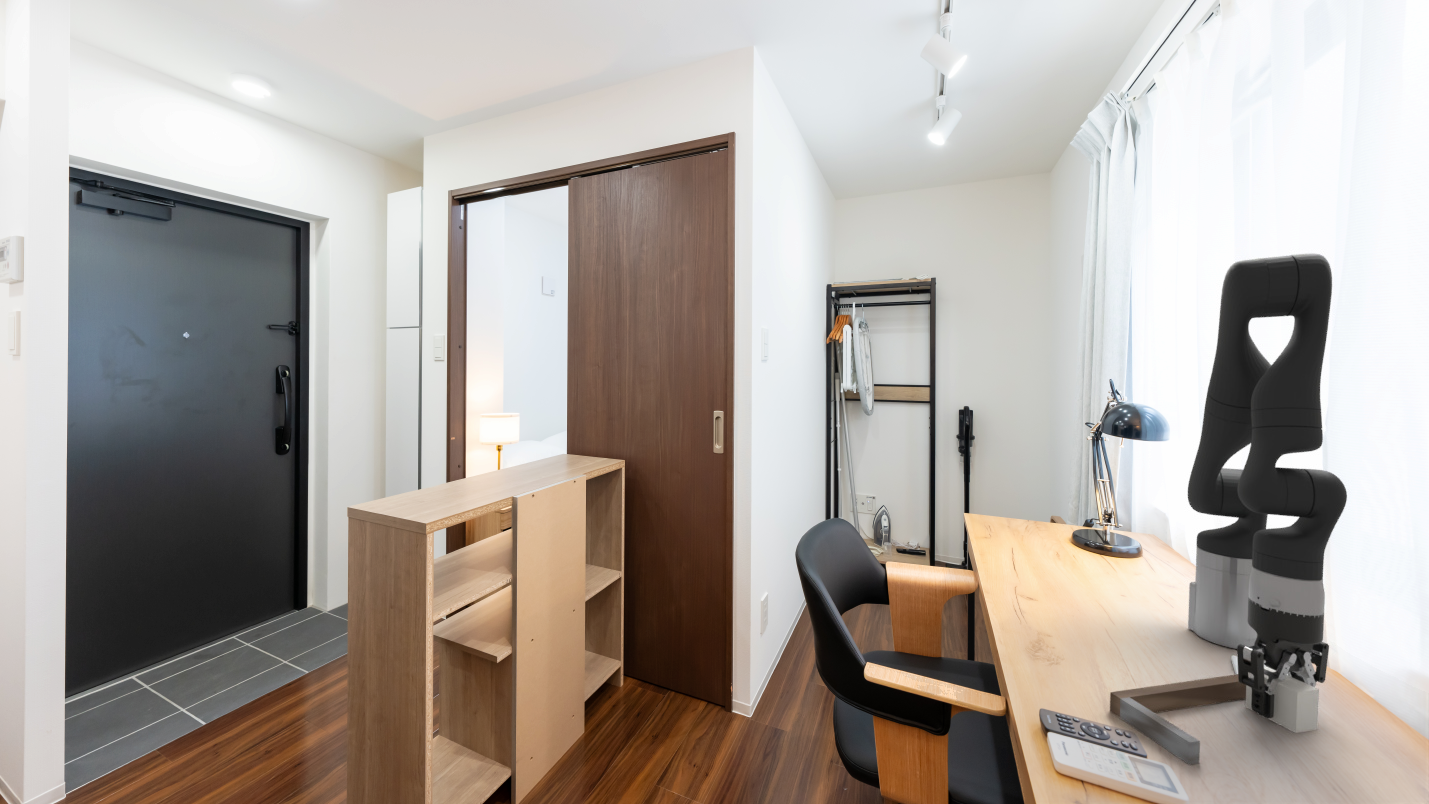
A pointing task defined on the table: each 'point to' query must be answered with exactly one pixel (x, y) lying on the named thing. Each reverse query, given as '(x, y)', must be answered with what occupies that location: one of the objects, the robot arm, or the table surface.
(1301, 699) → the block
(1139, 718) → the guide fence
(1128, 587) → the table surface
